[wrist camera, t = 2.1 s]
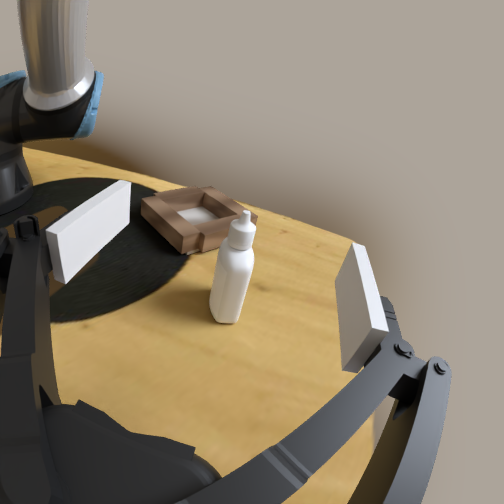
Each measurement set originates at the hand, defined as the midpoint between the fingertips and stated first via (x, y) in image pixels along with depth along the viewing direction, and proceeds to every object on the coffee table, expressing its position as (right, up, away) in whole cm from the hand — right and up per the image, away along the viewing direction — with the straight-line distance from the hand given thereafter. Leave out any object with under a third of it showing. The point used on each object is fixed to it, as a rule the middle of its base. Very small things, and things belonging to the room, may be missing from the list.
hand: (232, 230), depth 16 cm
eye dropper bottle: (-2, -8, +17) cm, 19 cm away
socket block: (-8, +3, +30) cm, 31 cm away
